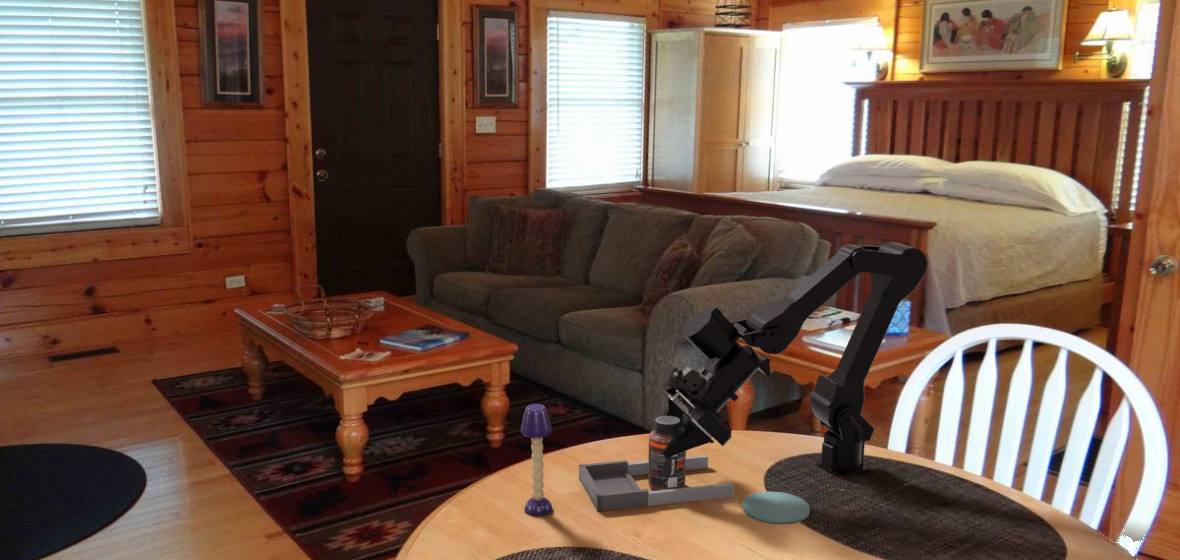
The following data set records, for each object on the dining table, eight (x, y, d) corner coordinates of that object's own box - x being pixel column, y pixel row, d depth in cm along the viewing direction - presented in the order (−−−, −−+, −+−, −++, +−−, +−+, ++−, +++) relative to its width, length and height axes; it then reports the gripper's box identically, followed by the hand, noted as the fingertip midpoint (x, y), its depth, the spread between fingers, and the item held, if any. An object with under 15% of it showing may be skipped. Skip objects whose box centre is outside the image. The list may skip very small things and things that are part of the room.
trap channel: (706, 466, 161) (706, 452, 160) (733, 496, 149) (734, 481, 149) (579, 479, 156) (579, 464, 155) (597, 511, 144) (597, 496, 144)
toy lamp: (555, 516, 143) (554, 410, 139) (524, 519, 142) (522, 412, 138) (549, 502, 147) (548, 399, 144) (519, 505, 146) (517, 402, 143)
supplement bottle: (683, 495, 149) (684, 427, 147) (645, 492, 151) (646, 425, 148) (687, 480, 155) (688, 414, 153) (650, 477, 156) (651, 412, 154)
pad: (780, 490, 151) (780, 486, 151) (823, 514, 143) (823, 511, 143) (729, 503, 147) (729, 499, 147) (771, 529, 138) (771, 525, 138)
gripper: (673, 329, 158) (609, 398, 158) (713, 361, 140) (641, 438, 140) (717, 371, 161) (654, 439, 161) (761, 407, 144) (690, 483, 143)
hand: (658, 448), depth 151 cm, fingers closed on supplement bottle, 6 cm apart
